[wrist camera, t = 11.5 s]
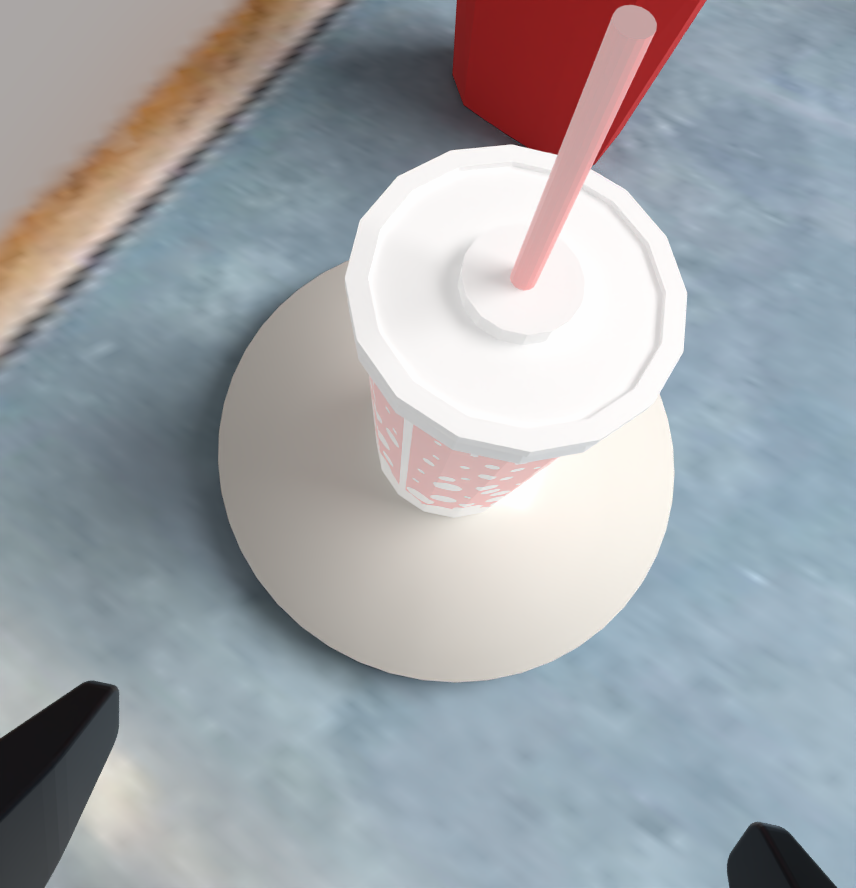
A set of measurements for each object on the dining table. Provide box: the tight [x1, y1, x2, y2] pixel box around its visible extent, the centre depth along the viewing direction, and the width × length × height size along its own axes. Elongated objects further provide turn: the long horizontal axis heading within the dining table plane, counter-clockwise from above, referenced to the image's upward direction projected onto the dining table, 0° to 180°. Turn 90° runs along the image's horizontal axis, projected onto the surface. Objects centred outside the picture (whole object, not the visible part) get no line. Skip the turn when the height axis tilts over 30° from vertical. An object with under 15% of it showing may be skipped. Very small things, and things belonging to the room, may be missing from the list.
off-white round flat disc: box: [218, 261, 674, 682], centre depth 21 cm, size 14×14×1 cm
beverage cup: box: [345, 5, 687, 518], centre depth 13 cm, size 6×6×14 cm
